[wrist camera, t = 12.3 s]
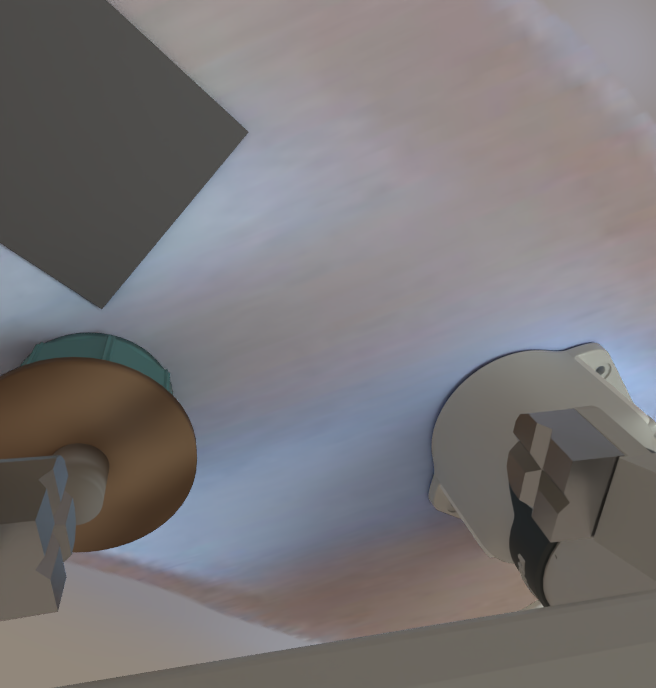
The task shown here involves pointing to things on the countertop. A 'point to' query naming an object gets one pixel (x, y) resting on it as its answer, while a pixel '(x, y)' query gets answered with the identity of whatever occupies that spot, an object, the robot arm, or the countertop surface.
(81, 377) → the lid
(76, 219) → the mat
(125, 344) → the bowl
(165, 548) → the countertop surface
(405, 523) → the countertop surface
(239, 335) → the countertop surface
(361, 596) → the countertop surface
